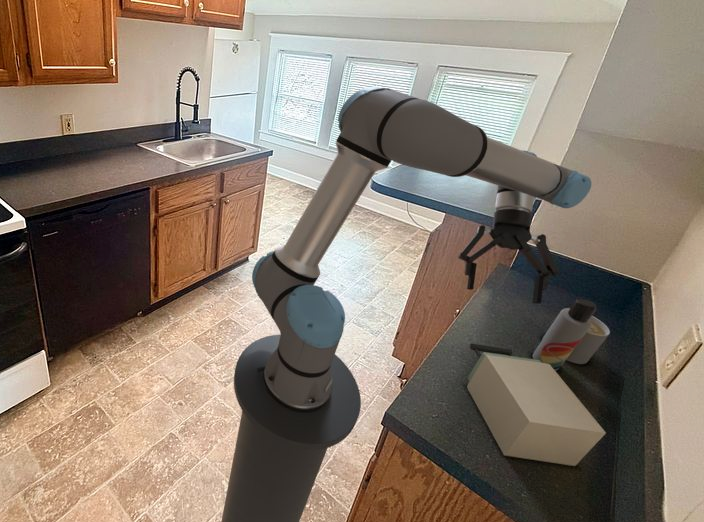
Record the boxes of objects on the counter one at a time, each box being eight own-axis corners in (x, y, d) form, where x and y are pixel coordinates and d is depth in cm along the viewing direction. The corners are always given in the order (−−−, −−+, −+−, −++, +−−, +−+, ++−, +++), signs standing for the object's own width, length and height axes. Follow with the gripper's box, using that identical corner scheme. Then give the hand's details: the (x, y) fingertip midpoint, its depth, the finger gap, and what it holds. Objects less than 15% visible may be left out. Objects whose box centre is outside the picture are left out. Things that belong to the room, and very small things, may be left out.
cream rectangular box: (466, 386, 88) (485, 354, 83) (526, 395, 87) (549, 363, 82) (503, 455, 74) (529, 421, 69) (575, 466, 74) (606, 433, 69)
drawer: (455, 357, 94) (469, 331, 90) (505, 364, 94) (522, 338, 90) (501, 439, 76) (521, 411, 72) (564, 448, 76) (588, 421, 72)
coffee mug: (587, 370, 96) (610, 342, 91) (540, 348, 102) (559, 320, 97) (588, 343, 105) (609, 316, 100) (545, 323, 111) (563, 297, 106)
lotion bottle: (555, 375, 94) (601, 314, 84) (529, 360, 97) (570, 300, 88) (560, 364, 97) (605, 304, 88) (534, 349, 101) (575, 291, 91)
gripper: (567, 224, 94) (558, 309, 91) (452, 208, 103) (441, 284, 100) (583, 217, 87) (575, 309, 84) (459, 200, 96) (447, 282, 93)
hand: (502, 296), depth 92 cm, fingers open, 13 cm apart
